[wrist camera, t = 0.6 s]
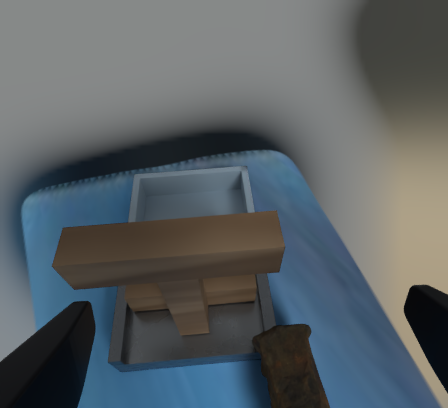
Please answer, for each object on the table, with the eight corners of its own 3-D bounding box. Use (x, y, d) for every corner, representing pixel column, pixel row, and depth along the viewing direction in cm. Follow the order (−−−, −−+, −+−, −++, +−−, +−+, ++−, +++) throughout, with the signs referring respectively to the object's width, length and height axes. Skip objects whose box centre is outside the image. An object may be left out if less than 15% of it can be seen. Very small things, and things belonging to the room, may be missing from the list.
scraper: (266, 327, 22) (285, 247, 14) (123, 340, 22) (51, 266, 14) (259, 285, 24) (272, 191, 16) (128, 296, 24) (68, 207, 16)
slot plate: (275, 357, 23) (279, 346, 21) (120, 372, 23) (107, 362, 21) (255, 238, 30) (257, 219, 27) (134, 248, 29) (125, 229, 27)
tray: (254, 235, 30) (255, 216, 27) (136, 245, 30) (127, 226, 27) (245, 186, 34) (246, 165, 31) (141, 194, 33) (134, 174, 31)
